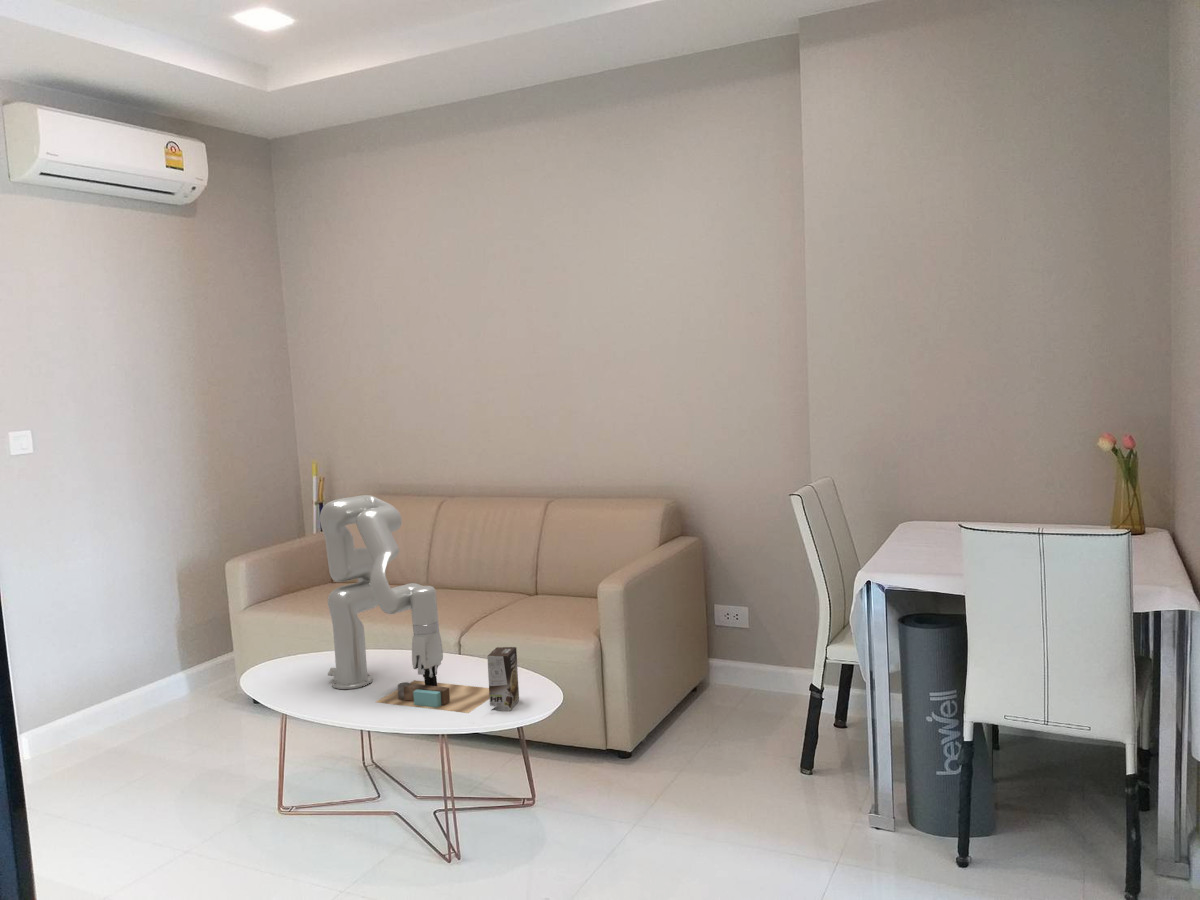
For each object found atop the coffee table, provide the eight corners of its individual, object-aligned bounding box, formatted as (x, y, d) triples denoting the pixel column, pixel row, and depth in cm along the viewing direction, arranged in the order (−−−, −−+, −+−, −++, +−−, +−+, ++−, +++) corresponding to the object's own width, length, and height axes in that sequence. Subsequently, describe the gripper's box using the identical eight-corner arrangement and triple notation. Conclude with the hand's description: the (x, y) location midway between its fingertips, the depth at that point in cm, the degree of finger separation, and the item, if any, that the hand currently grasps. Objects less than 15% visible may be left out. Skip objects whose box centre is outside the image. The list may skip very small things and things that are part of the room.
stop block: (414, 704, 261) (413, 691, 261) (418, 702, 263) (417, 689, 263) (437, 707, 258) (436, 694, 258) (441, 705, 260) (440, 691, 260)
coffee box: (511, 711, 257) (507, 655, 255) (489, 710, 258) (486, 655, 257) (520, 700, 266) (517, 646, 264) (499, 699, 267) (496, 646, 266)
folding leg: (395, 699, 266) (395, 685, 266) (403, 694, 269) (402, 681, 269) (443, 704, 259) (442, 691, 259) (450, 700, 262) (449, 687, 262)
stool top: (375, 707, 265) (374, 702, 265) (414, 684, 284) (414, 680, 284) (468, 718, 253) (468, 713, 253) (503, 694, 271) (503, 689, 271)
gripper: (429, 621, 274) (434, 680, 275) (400, 634, 260) (406, 697, 261) (450, 622, 271) (455, 682, 272) (422, 635, 258) (428, 698, 258)
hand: (431, 689), depth 267 cm, fingers closed
